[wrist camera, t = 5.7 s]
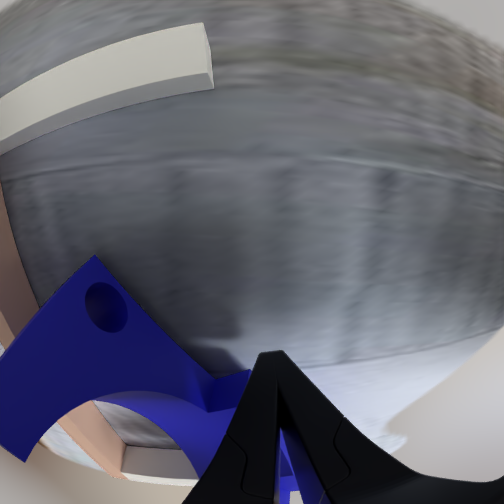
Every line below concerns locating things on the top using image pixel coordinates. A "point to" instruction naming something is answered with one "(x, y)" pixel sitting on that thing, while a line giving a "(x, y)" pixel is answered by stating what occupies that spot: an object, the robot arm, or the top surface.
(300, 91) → the top surface
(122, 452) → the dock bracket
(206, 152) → the top surface
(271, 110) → the top surface
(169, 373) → the blue half clamp
